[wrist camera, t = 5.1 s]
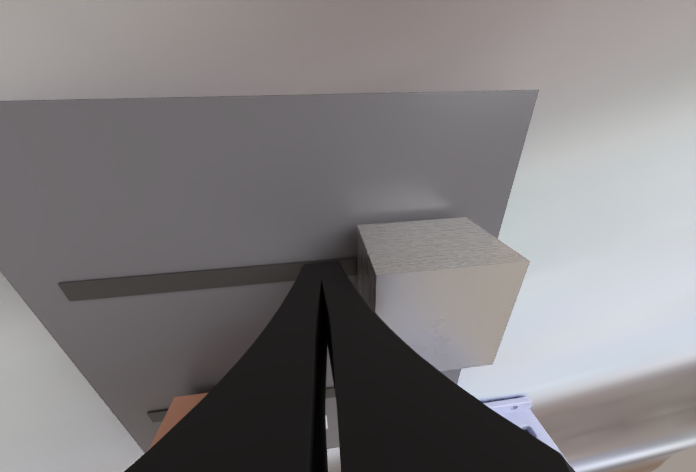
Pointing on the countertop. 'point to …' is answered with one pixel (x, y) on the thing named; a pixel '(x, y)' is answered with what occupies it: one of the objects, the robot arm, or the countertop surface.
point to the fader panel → (223, 217)
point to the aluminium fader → (441, 287)
